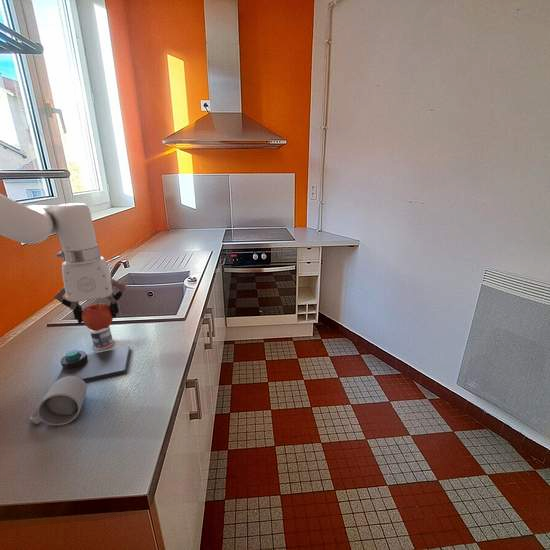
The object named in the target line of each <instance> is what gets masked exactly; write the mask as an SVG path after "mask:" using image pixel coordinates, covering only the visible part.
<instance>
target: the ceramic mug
mask: <svg viewBox="0 0 550 550" xmlns="http://www.w3.org/2000/svg"><path fill="white" fill-rule="evenodd" d="M56 380H57V379H56ZM56 380H55V382H54V383H53V384H51V386H50V388H48V390H47V392H46V393H45V395H44V397H43V398H42V399H41V401H40V402H39V404H38V406H37V408H36V409H35V410H34V411H33V412H32V413H31V415H30V417H29V421H30V422H32V423H33V424H35V425H37V424H38V425H39V424H41V423H42V422H43V423H45V424H46V425H49V426H64V425H67V424H70V423H71V422H73V421H74V420H75V419H76V418H77V417H78V416H79V414H80V412H81V409H82V406H83V404H84V401H85V398H86V395H87V392H88V391H87V390H88V387H87V382H86V383H85V382H84V381H83V380H82V379H81V378H79V377H76V376H66V377H63V378H60V379H59V380H57V381H56Z"/></svg>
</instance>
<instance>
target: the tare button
mask: <svg viewBox="0 0 550 550" xmlns="http://www.w3.org/2000/svg"><path fill="white" fill-rule="evenodd" d="M79 351H80V350H78V349H73V350H70V351H67V352H66V353H65V356H66V358H67V361H74V360H76V359H78V358H80V354H79Z"/></svg>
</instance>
